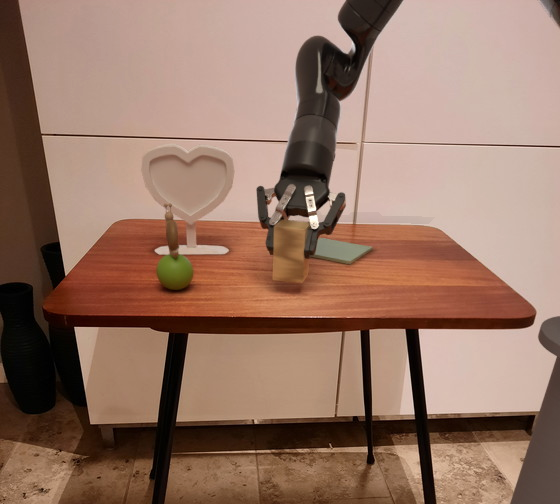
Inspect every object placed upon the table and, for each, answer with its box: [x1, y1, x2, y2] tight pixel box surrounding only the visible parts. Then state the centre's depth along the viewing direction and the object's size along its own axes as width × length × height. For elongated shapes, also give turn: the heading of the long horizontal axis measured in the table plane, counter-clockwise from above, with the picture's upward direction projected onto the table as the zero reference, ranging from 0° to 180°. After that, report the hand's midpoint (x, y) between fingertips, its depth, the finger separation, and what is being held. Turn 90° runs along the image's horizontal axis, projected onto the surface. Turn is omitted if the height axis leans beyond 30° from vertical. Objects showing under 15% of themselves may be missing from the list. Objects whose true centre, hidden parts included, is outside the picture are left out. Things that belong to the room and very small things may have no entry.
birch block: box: [272, 219, 310, 284], centre depth 81 cm, size 5×5×8 cm
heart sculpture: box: [140, 143, 235, 256], centre depth 96 cm, size 16×5×18 cm, turn 98°
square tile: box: [310, 237, 373, 265], centre depth 103 cm, size 11×11×1 cm
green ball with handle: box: [156, 203, 194, 291], centre depth 80 cm, size 5×6×12 cm
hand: (289, 253), depth 79 cm, fingers closed on birch block, 4 cm apart
